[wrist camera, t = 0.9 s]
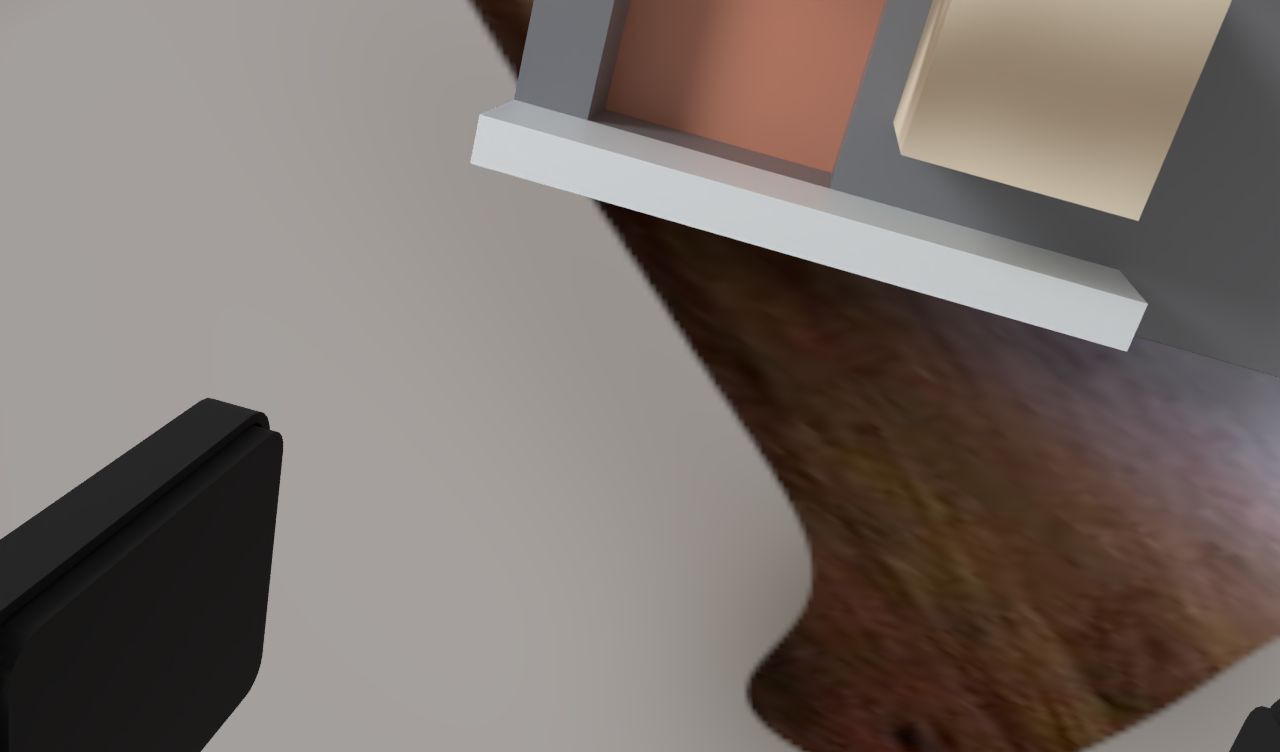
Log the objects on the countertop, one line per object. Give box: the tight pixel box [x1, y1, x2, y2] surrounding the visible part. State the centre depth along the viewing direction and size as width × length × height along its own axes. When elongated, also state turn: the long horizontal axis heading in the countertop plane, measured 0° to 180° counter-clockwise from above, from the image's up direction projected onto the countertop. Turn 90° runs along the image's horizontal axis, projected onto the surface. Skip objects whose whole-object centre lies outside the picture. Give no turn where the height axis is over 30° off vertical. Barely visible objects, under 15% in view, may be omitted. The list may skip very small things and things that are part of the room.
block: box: [893, 0, 1232, 221], centre depth 25 cm, size 5×5×5 cm
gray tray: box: [471, 0, 1280, 377], centre depth 27 cm, size 22×12×6 cm, turn 75°
